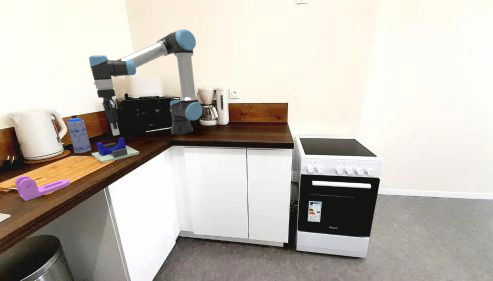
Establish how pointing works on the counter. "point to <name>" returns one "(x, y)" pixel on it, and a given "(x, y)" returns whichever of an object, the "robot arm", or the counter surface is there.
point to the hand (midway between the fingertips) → (116, 134)
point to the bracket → (30, 189)
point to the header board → (107, 157)
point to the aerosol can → (78, 135)
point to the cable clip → (105, 151)
